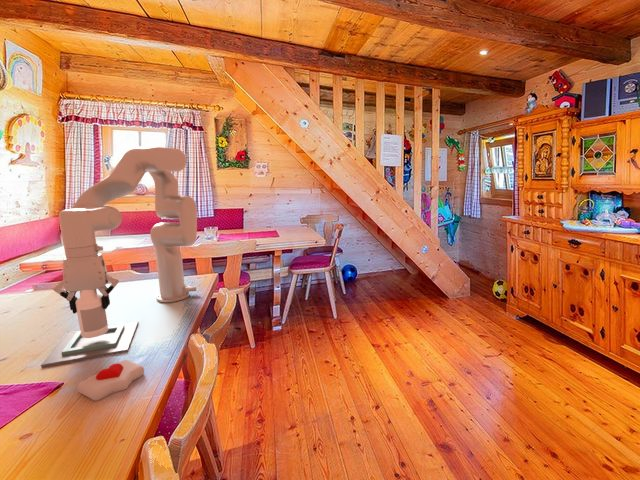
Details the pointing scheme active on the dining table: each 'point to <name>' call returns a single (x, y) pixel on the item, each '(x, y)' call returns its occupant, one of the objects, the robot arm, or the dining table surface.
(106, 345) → the dock
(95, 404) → the dining table surface
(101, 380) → the icon
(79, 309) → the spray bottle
